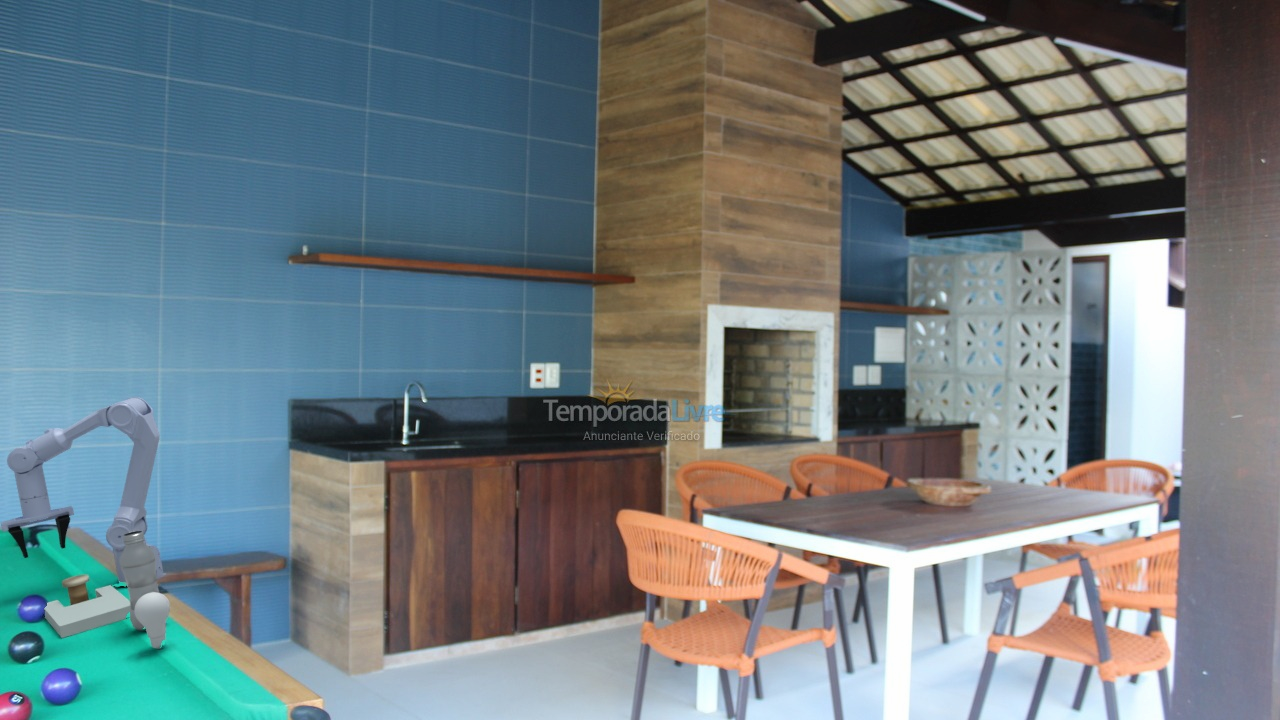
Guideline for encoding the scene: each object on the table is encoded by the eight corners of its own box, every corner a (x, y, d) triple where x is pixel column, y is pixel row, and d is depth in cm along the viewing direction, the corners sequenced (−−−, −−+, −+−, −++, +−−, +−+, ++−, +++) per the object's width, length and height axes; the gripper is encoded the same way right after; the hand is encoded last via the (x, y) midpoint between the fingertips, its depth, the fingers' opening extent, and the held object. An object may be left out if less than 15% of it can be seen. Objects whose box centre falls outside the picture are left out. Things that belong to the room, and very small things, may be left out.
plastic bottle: (154, 633, 198) (136, 537, 196) (125, 634, 200) (107, 539, 197) (175, 621, 204) (158, 527, 202) (147, 622, 206) (129, 529, 203)
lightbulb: (135, 653, 188) (124, 598, 187) (163, 640, 193) (153, 586, 192) (156, 656, 185) (145, 600, 184) (184, 643, 191) (174, 588, 189)
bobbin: (99, 603, 223) (93, 573, 222) (83, 612, 218) (77, 582, 217) (78, 605, 224) (73, 575, 223) (62, 614, 218) (56, 583, 218)
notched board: (136, 615, 211) (133, 604, 211) (61, 638, 202) (59, 626, 202) (112, 595, 228) (110, 584, 228) (43, 615, 219) (40, 604, 219)
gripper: (65, 486, 239) (75, 541, 241) (-5, 502, 230) (6, 558, 232) (71, 490, 234) (81, 545, 235) (-1, 505, 225) (10, 563, 226)
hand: (44, 552), depth 233 cm, fingers open, 7 cm apart
